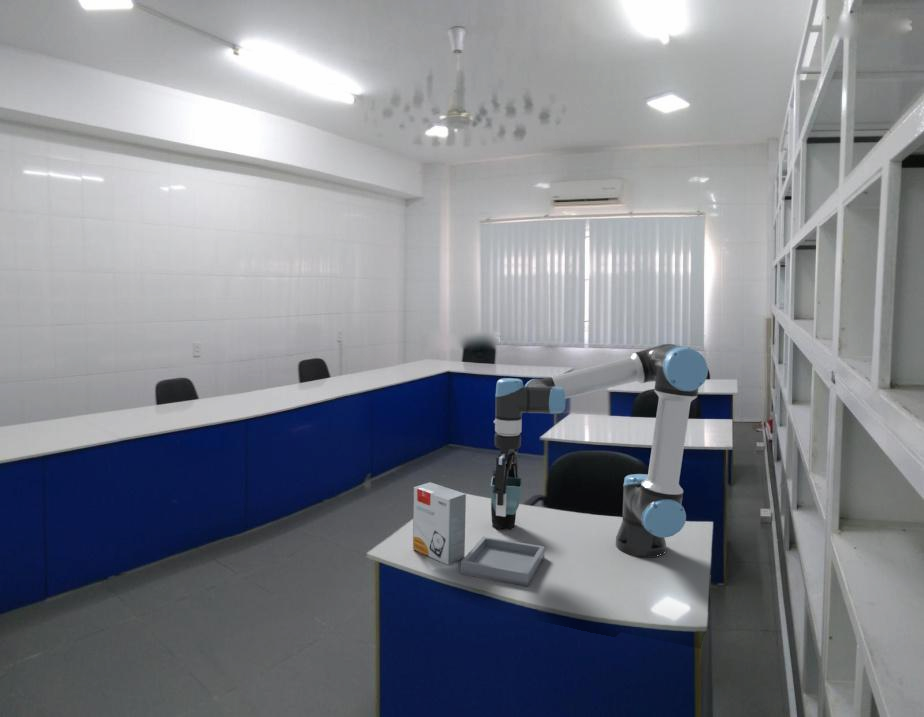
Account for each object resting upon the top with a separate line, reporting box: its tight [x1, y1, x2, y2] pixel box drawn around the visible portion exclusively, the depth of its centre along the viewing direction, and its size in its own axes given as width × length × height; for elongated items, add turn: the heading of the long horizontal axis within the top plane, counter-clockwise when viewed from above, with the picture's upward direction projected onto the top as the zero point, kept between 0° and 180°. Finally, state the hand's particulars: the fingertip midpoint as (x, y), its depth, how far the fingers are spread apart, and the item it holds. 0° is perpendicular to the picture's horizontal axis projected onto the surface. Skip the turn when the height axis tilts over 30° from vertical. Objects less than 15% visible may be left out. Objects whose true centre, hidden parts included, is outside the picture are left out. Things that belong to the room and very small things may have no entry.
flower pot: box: [490, 476, 523, 515], centre depth 170 cm, size 9×9×9 cm
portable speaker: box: [490, 467, 517, 530], centre depth 201 cm, size 9×9×20 cm
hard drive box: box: [412, 481, 467, 566], centre depth 179 cm, size 16×8×20 cm, turn 47°
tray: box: [460, 536, 546, 587], centre depth 172 cm, size 19×19×4 cm
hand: (505, 509), depth 170 cm, fingers closed on flower pot, 9 cm apart
